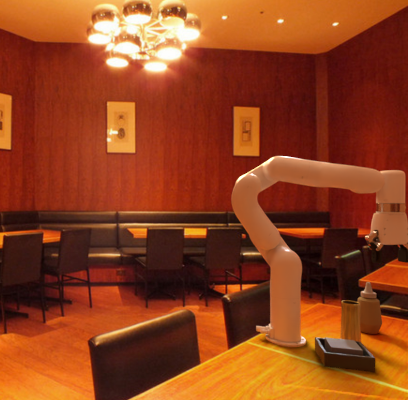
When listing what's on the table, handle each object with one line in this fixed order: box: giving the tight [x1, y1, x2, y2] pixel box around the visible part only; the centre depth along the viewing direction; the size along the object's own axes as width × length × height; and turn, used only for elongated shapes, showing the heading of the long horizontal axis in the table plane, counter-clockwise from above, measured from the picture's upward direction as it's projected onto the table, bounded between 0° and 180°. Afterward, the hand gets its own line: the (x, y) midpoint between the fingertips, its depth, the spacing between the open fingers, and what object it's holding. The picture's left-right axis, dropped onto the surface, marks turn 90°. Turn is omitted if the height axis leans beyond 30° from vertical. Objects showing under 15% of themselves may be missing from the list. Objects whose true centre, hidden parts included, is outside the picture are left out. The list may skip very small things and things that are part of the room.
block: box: [324, 337, 363, 356], centre depth 112 cm, size 8×8×5 cm
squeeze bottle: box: [356, 281, 383, 335], centre depth 137 cm, size 8×8×18 cm
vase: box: [339, 299, 362, 343], centre depth 125 cm, size 6×6×14 cm
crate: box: [314, 337, 376, 374], centre depth 112 cm, size 13×13×4 cm
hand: (389, 262), depth 120 cm, fingers open, 9 cm apart
